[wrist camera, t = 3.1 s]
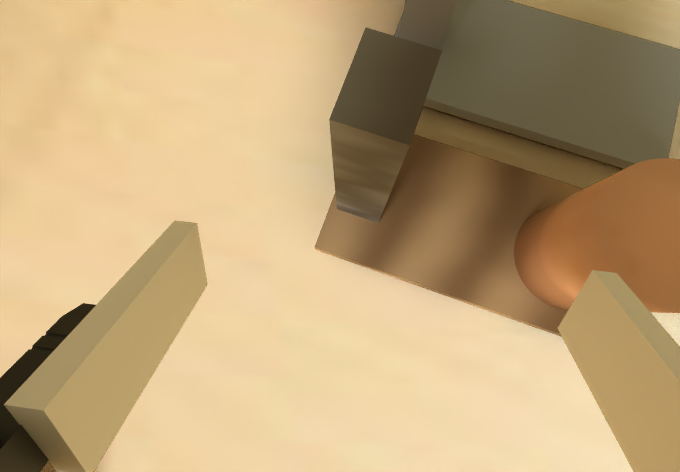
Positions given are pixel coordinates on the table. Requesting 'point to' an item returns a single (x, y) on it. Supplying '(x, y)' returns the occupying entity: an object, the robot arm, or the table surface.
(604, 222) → the peach capsule shape
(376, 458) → the table surface
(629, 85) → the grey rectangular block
